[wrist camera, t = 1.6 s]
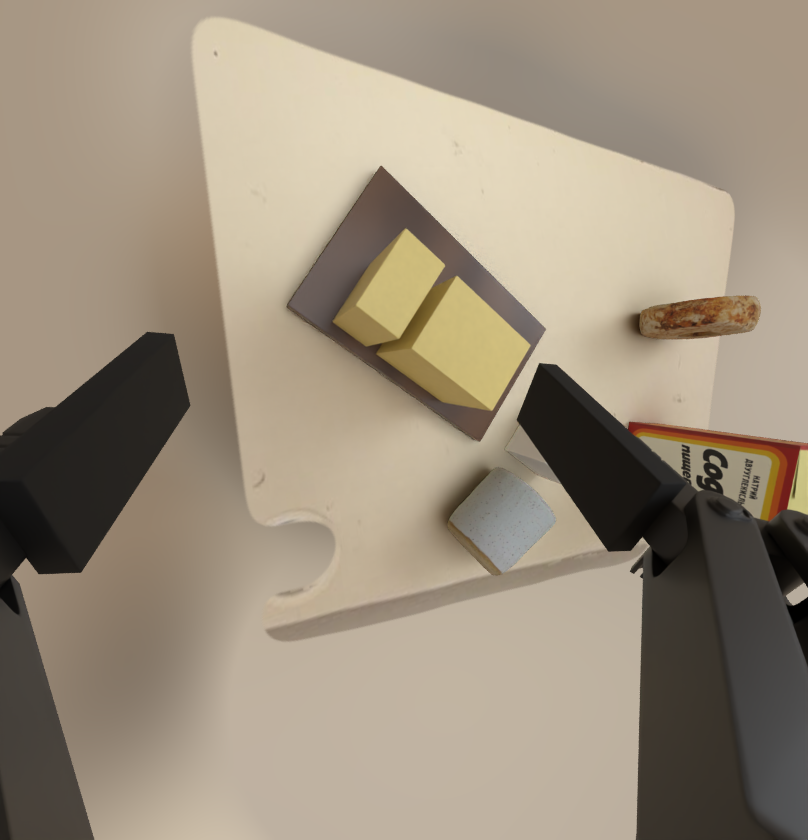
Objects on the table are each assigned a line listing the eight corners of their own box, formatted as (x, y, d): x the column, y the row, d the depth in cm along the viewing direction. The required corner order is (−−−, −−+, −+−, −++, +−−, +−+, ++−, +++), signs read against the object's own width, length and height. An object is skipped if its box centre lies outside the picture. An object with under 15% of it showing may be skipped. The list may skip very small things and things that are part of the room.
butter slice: (331, 322, 29) (354, 305, 21) (370, 263, 29) (405, 226, 22) (366, 347, 30) (399, 339, 23) (402, 290, 31) (446, 264, 23)
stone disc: (620, 337, 43) (718, 328, 33) (623, 306, 42) (724, 288, 33) (675, 343, 46) (776, 336, 37) (678, 314, 46) (782, 300, 37)
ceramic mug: (430, 515, 36) (472, 551, 29) (482, 458, 37) (534, 479, 30) (485, 571, 40) (533, 616, 33) (530, 517, 41) (586, 549, 34)
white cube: (537, 475, 41) (580, 492, 35) (504, 449, 38) (544, 462, 33) (563, 431, 41) (610, 441, 36) (532, 403, 39) (576, 409, 33)
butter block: (375, 353, 31) (410, 348, 23) (411, 297, 31) (456, 274, 24) (442, 402, 34) (492, 411, 26) (473, 350, 34) (531, 345, 27)
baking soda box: (650, 491, 48) (819, 544, 34) (617, 493, 46) (784, 550, 31) (662, 424, 48) (841, 447, 33) (629, 421, 45) (806, 446, 30)
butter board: (286, 307, 28) (287, 304, 27) (377, 171, 30) (381, 164, 29) (474, 440, 37) (480, 441, 36) (539, 329, 38) (546, 328, 37)
